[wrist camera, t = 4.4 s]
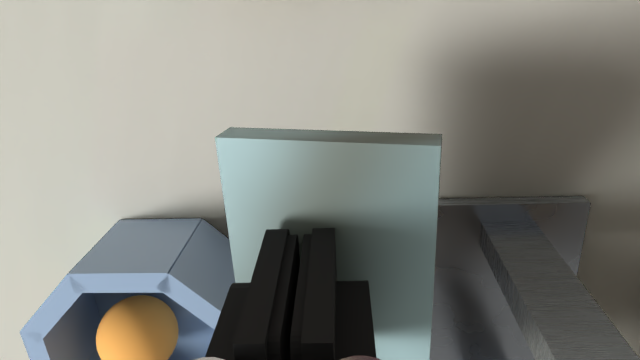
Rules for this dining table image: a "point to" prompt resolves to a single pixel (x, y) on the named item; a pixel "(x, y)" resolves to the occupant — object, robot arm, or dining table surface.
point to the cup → (137, 287)
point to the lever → (344, 214)
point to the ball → (137, 330)
